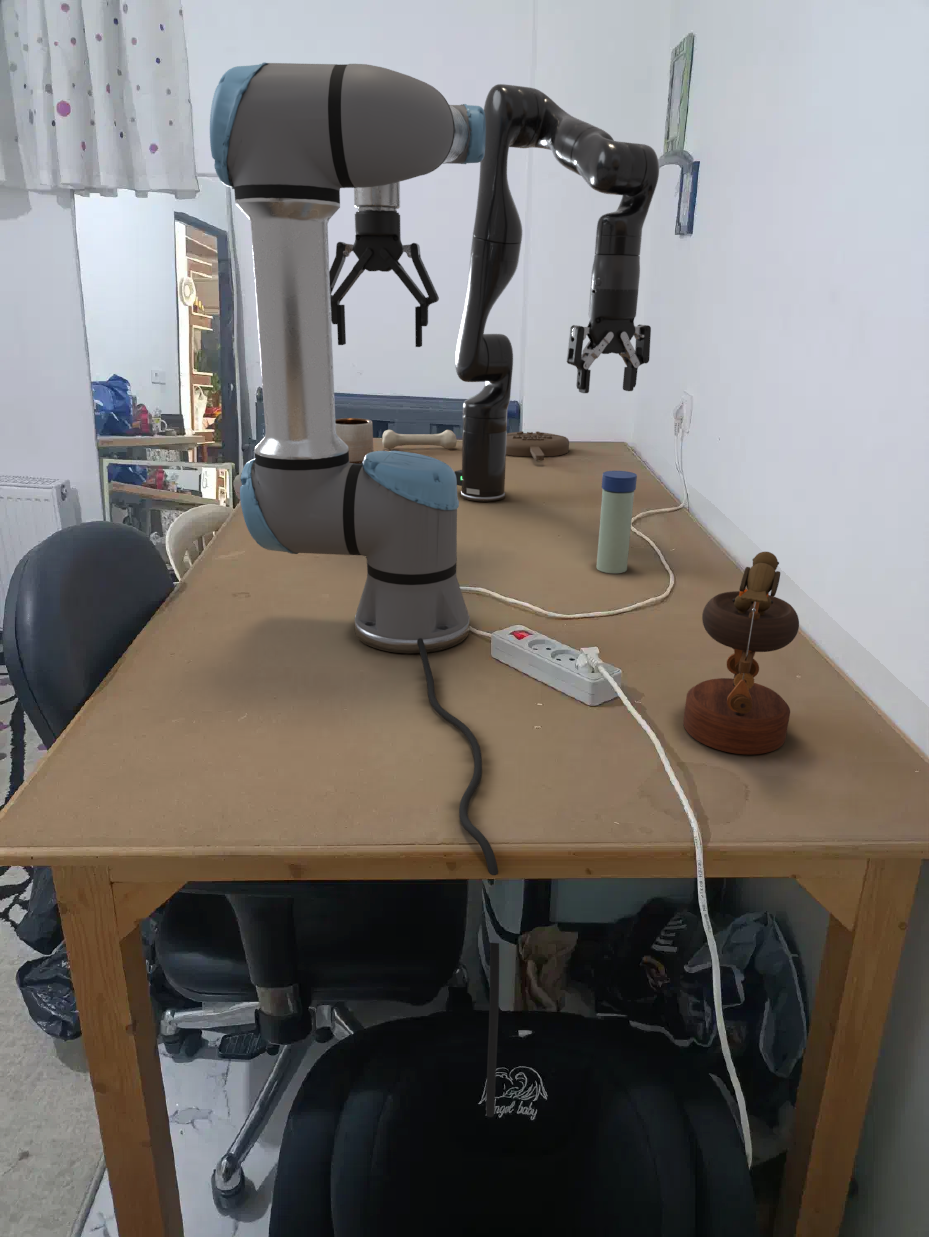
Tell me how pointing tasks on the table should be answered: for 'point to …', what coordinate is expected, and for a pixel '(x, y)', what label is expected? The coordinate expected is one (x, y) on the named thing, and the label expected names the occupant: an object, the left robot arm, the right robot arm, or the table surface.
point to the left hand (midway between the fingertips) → (380, 345)
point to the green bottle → (614, 531)
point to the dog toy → (419, 439)
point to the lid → (619, 481)
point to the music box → (744, 666)
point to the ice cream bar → (536, 444)
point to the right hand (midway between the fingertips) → (605, 391)
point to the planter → (356, 437)
